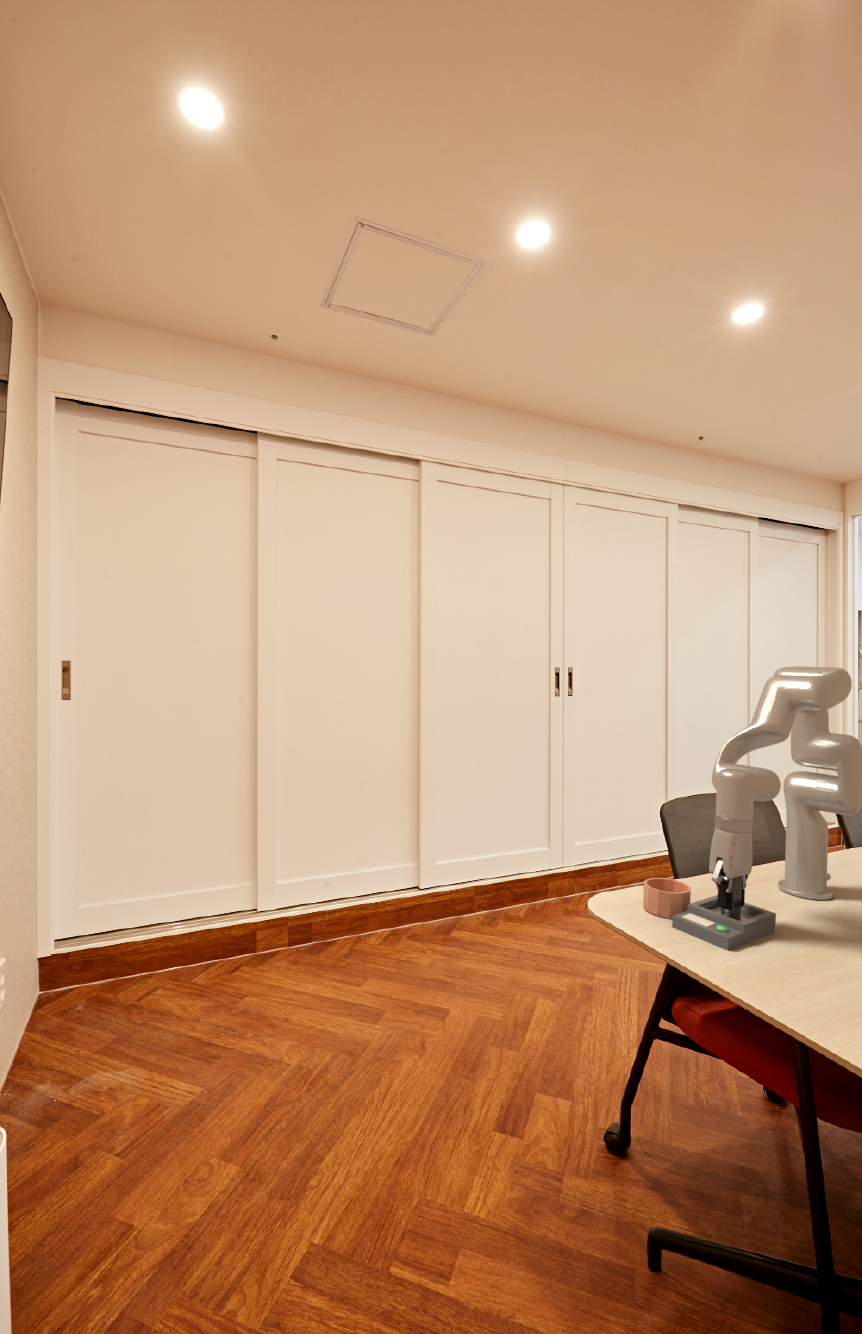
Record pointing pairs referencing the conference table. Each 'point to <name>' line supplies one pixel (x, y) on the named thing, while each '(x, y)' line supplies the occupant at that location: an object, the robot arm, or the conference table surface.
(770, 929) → the grey button console
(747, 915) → the pad
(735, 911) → the battery
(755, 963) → the conference table surface
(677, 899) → the cup
